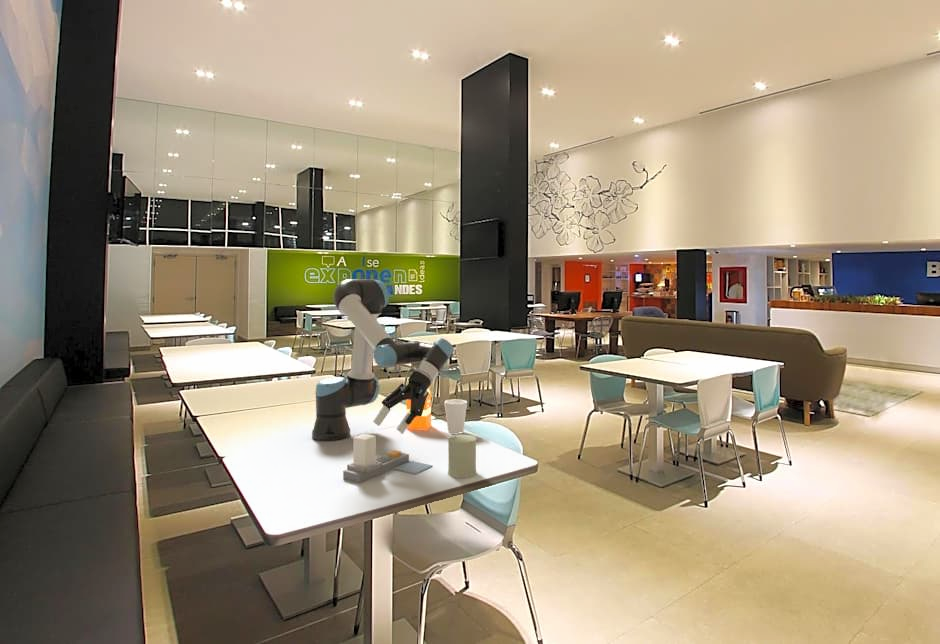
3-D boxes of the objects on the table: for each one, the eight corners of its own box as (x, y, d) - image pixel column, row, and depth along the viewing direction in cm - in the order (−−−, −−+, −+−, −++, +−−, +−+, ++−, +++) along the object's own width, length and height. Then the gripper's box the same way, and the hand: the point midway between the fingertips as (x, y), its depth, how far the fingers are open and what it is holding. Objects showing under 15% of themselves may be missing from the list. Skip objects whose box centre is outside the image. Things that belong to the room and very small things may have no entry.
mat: (394, 469, 168) (394, 468, 168) (411, 461, 175) (411, 460, 175) (415, 474, 163) (415, 473, 163) (432, 466, 171) (432, 465, 171)
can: (447, 468, 169) (447, 433, 168) (474, 468, 169) (475, 432, 169) (448, 478, 159) (448, 441, 159) (477, 478, 160) (477, 440, 159)
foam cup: (464, 435, 208) (464, 404, 207) (442, 434, 210) (442, 403, 209) (468, 429, 217) (468, 399, 217) (447, 428, 219) (447, 398, 218)
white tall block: (353, 468, 162) (353, 437, 161) (364, 463, 166) (364, 433, 165) (365, 471, 159) (364, 439, 158) (376, 466, 163) (375, 435, 163)
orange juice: (426, 430, 217) (426, 383, 216) (406, 429, 218) (406, 383, 217) (431, 425, 224) (431, 380, 223) (412, 424, 226) (411, 380, 225)
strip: (342, 478, 160) (342, 466, 159) (392, 457, 180) (392, 447, 180) (360, 483, 155) (360, 471, 155) (409, 461, 176) (409, 451, 176)
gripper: (452, 388, 169) (417, 441, 160) (407, 379, 187) (373, 426, 178) (440, 374, 165) (403, 428, 156) (395, 366, 183) (360, 414, 174)
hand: (387, 427), depth 167 cm, fingers open, 13 cm apart
